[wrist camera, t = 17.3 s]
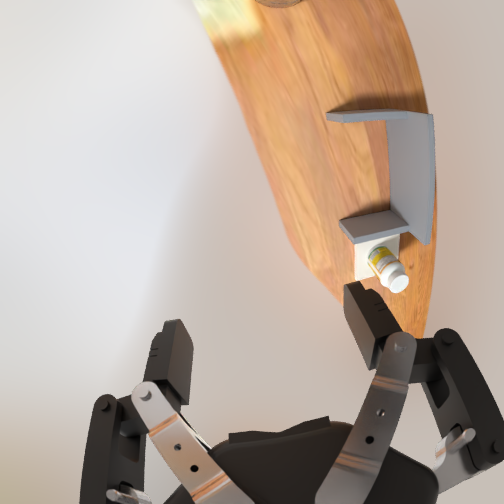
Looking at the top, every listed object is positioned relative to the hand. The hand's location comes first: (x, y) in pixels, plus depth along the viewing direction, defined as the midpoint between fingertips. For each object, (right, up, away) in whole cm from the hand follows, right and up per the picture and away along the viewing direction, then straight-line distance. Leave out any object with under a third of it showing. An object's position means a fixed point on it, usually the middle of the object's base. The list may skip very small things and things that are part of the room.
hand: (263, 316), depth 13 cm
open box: (+19, +18, +30) cm, 39 cm away
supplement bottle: (+25, +2, +38) cm, 45 cm away
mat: (+25, +3, +39) cm, 46 cm away
